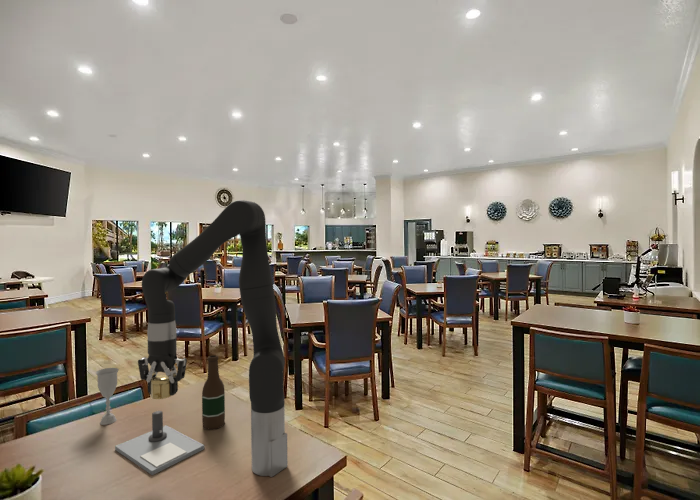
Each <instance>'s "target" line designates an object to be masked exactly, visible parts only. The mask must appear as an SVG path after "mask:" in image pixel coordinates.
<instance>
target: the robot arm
mask: <svg viewBox="0 0 700 500" xmlns="http://www.w3.org/2000/svg"><path fill="white" fill-rule="evenodd" d="M266 228H267V225H266V214H265V211H264V209H263V208H262V206H260V204H258V203H257V202H255V201H249V200H245V199H243V200H242V199H237V200H234V201H231V202H230V203H229V204H228V205H227V206H226V207H225V208H224V209H223V210H222V211H221V212H220V213H219V214H218V216H217V217H216V218H215V219H214V220H213V221H212V222H211V223H210V224H209V225H208V226H207V227H206V228H205V229H204V230H203V231H202V232H201V233H200V234H199V235H198V236H196V237H195V238H194V239H193V240H191V241H190V242H189V243H188V244H186V245H185V246H184V247H182V248H181V249H180V250H178V251H177V252H176V253H175V254H173V255H172V256H171V258H170V259H169V262H168V265H167V266H165V267H160V268H152V269H149V270H147V271H146V272H145V273H144V275H142V280H141V289H142V293H143V297H144V300H145V303H146V307H147V315H148V316H147V317H148V318H147V319H148V320H147V324H148V325H147V354H148V357H142V358H140V359H138V361H137V365H138V372H139V377H140V379H141V380H142V381H146V382H147V393H148V394H149V395H150V396H151V379H152V378H154V377H156V376H158V373H165V375H166V376H168V377H169V380H170V382H171V383H170V397H172V396H175V395H177V392H178V390H179V389H178V388H179V385H178V384H179V382H180V381H181V380H183V379H185V375H186V368H187V363H188V359H187V358H185V357H184V358H178V357H177V349H178V347H177V323H176V306H175V303H174V302H173V300H169V299H167V294H166V293H167V292H170V291H171V292H172V291H173V290H175V289H177V288H178V287H179V286H181V285H182V284H183V283H184V281H185V280H186V279H187V278H188V277H189V275H191V274H193V272H195V271H196V270H198V269H199V268H200V267H201V266H203V265H204V264H205V263H207V262H208V261H209V259H210V258H211V257H212V256H213V254H214V253H215V252H217V250H218V249H219V248H220V247H221V246H222V245H223V244H225V243H226V242H228V241H229V240H231V239H233V238H235V237H237V236H239V237H240V242H241V249H242V251H241V252H242V256H241V264H240V271H239V275H238V285H239V286H238V287H239V295H240V301H241V306H242V310H243V313H244V316H245V318H246V319H247V320H246V321H247V322H248V325H249V327H250V331H251V336H252V346H253V356H252V357H253V358H252V359H251V362H249V363H250V364H249V367H248V368H249V369H248V384H249V385H248V387H249V394H248V395H249V400H250V431H251V432H250V434H251V438H250V440H251V442H250V443H251V452H250V453H251V471H252V472H253V473H254V474H255V475H257V476H261V477H267V476H269V477H271V478H272V477H274V476H275V475H277V474H279V473H280V472H281V471H283V470H284V469H286V468H287V467H288V462H289V461H288V433H287V432H285V431H286V430H285V427H286V426H285V425H286V424H285V421H286V420H285V409H286V408H285V403H286V402H285V394H284V393H285V391H284V387H285V385H284V369H285V366H286V360H285V359H286V358H285V355H284V351H283V347H282V344H281V339H280V336H279V330H278V327H277V326H278V325H277V309H276V308H277V307H276V297H275V289H274V284H273V277H272V271H271V265H270V259H269V255H268V254H269V253H268V246H267V233H266V232H267V231H266V230H267V229H266ZM175 364H176V365H175ZM149 366H150V368H149Z"/></svg>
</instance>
